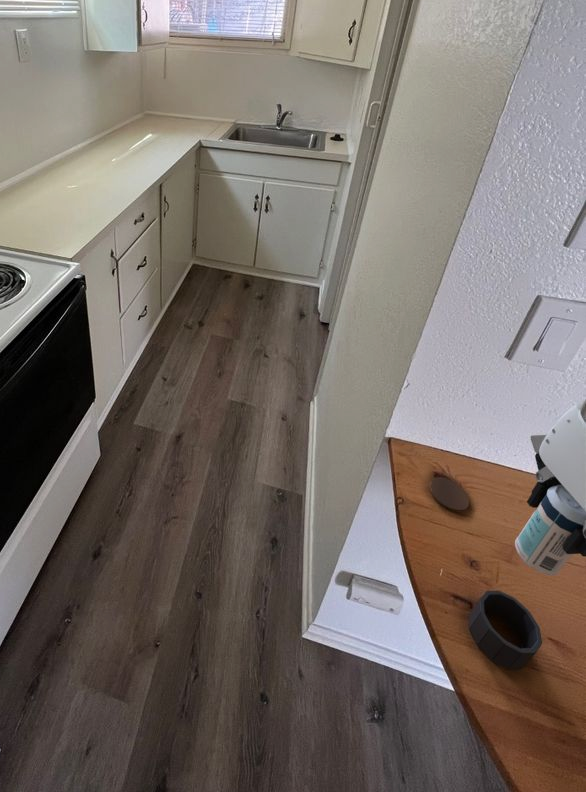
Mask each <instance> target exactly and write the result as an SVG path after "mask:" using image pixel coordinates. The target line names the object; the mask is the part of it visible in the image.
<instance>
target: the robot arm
mask: <svg viewBox="0 0 586 792" xmlns="http://www.w3.org/2000/svg"><path fill="white" fill-rule="evenodd" d="M530 441H531V444H532V448H533V450H534V453H535V454H534V459H535V462H536V467H537V471H536V472H535V474H534V475H535V478H536V481H537V482H536V484H535V485H534V487H533V488H532V490H531V494H530V495H529V497H528V499H527V501H526V503H527V504H528V506H529V507H531V508H532V509H537V507H538V506H539V504H540V502H541V501H542V499H543V498H544V496H545V495H546V493H547V491H548V489H549V488H550V487H553V486H557V485H563V486H564V487H565V488H566V490H567V491H568V492H569V493H570V494H571V495H572V496H573V497H574V499H575V500H576V501H577V502H578V503H579V504H580V505H581V506H582V508H583V509H584V510H585V511H586V399H585V400H582V401H579V402H577V403H576V404H574V405H573V406H572V407H571V408H569V409H568V410H567V411H566V412H565V413H563V415H562V416H561V417H560V418H559V419H558V420H557V421H556V422H555V424H554V425H553V426H552V427H551V428H550V430H549V431H548V432H547V434H533V435H530ZM562 547H563V550H564V551H565V552H566V554H573V555H581V557H586V519H585V523H584V527H583V528H578V529H575V530H574V531H573V533H572V534H571V535H570V537H569V538H568V539H567V541H566V542H565V543H564V545H563V546H562Z"/></svg>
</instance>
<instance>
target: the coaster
mask: <svg viewBox="0 0 586 792" xmlns="http://www.w3.org/2000/svg"><path fill="white" fill-rule="evenodd" d="M428 488H429V493H430V494H431V497H432V498H433V499H434V500H435V502H437V503H438V504H439V505H440V506H442V507H443V508H444V509H446V510H449V511H451V512H455V513H461V512H462V513H463V512H465V511H466V510H467V509H468V507H469V505H470V498H469V495H468V494H467V492H466V491H465V489H464V488H463V487H462V486H461V485H460V484H459V483H457V482H455V481H454V480H452V479H450V478H447V477H443V476H436V477H434V478H433V479H432V480H430V483H429V487H428Z"/></svg>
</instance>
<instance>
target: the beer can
mask: <svg viewBox="0 0 586 792" xmlns="http://www.w3.org/2000/svg"><path fill="white" fill-rule="evenodd" d="M585 519H586V511H585V510H584V509H583V508H582V506H581V505H580V504H579V503H578V502H577V501H576V500H575V499H574V497H573V496H572V495H571V494H570V493H569V492H568V491H567V490H566V488H565V487H564V486H563V485H557V486H553V487H550V488H549V489H548V491H547V493H546V495H545V496H544V498H543V499H542V501H541V502H540V504H539V506H538V507H537V508H535V510H534V512H533V513H532V515H531V516H530V518H529V519H528V521H527V522H526V523H525V526H524V527H523V529H522V530H521V531H520V533H519V535H518V536H517V537H515V541H514V546H515V549H516V552H517V554H518V555H519V557H520V558H521V559H522V561H523V562H524V563H525V564H526V565H527V566H529V567H530V568H531V569H533V570H535V571H537V572H539V573H541V574H542V575H547V576H556V575H559V573H560V572H561V570H562V569H563V568H564V567H565V565H566V564H567V563H568V561H569V560H570V559H571V557H572V556H574V554H566V552H565V551H564V550H563V547H562V546H563V545H564V543H565V542H566V541H567V539H568V538H569V537H570V535H571V534H572V533H573V531H574V530H575V529H578V528H583V527H584V523H585Z"/></svg>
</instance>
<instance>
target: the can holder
mask: <svg viewBox="0 0 586 792" xmlns="http://www.w3.org/2000/svg"><path fill="white" fill-rule="evenodd" d="M486 612H487V613H489V614H492V615H495V616H496V617H498V618H500V619H501V620H502V621H503V622H504V623H506V624H507V625H508V626H509V627H510V628H511V629H512V631H513V632H514V634H515V635H516V637H517V639H518V640H519V642H520V644H521V647H519V646H516V645H514V644H513V643H511V642H509V641H507V640H506V639H505V638H503V636H501V635H500V633H498V632H497V631H496V629H495V628H493V626H492V624H491V623H490V620H489V619H488V617H487V615H486ZM467 618H468V620H467V621H468V631H469V632H470V635H471V636H472V639H473V641H474V643H475V645H476V646H477V648H478V649H479V650H480V651H481V652H482V653H483V654H484V655H485V656H486V657H487V659H488V660H490V661H491V662H492V663H494V664H496V665H498V666H500V667H502V668H503V669H505V670H509V671H512V670H513V671H515V670H522V669H523V668H524V667H525V666H526V665H527V664H528V663H529V661H531V659H532V658H533V657H534V656H535V655H536V654H537V653H538V651H539V650H540V648H541V646H542V645H543V639H542V634H541V628H540V626H539V625H538V623H537V621H536V620H535V618H534V617H533V614H532V613H531V612H530V611H529V609H528V608H526V606H525V605H523V604H522V603H521V602H520V601H519V600H518V599H517V598H515V597H513V596H512V595H510V594H508V593H506V592H503V591H501V590H485V592H484V593H483V594H482V595H481V596H480V598H479V599H478V600H477V602H476V603H475V605H474V606H473V608H472V609H471V611H470V613H468V616H467Z"/></svg>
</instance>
